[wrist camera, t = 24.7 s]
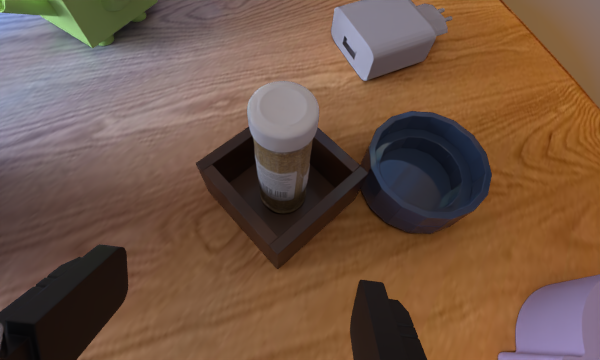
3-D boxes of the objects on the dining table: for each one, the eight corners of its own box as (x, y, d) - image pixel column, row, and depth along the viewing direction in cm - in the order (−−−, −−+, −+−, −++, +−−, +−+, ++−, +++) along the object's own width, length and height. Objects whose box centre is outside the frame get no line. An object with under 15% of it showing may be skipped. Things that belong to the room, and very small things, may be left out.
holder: (208, 191, 33) (195, 163, 27) (286, 134, 36) (287, 99, 31) (277, 269, 30) (277, 255, 24) (354, 199, 33) (369, 173, 28)
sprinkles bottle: (315, 191, 32) (335, 104, 20) (284, 224, 31) (286, 150, 19) (281, 164, 34) (280, 66, 21) (249, 194, 32) (230, 107, 20)
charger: (459, 51, 44) (364, 84, 40) (420, 9, 47) (329, 35, 44) (479, 20, 39) (374, 54, 36) (434, -24, 43) (335, 3, 39)
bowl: (336, 179, 34) (344, 155, 30) (402, 122, 38) (419, 93, 33) (420, 258, 31) (444, 245, 26) (483, 187, 35) (513, 165, 30)
